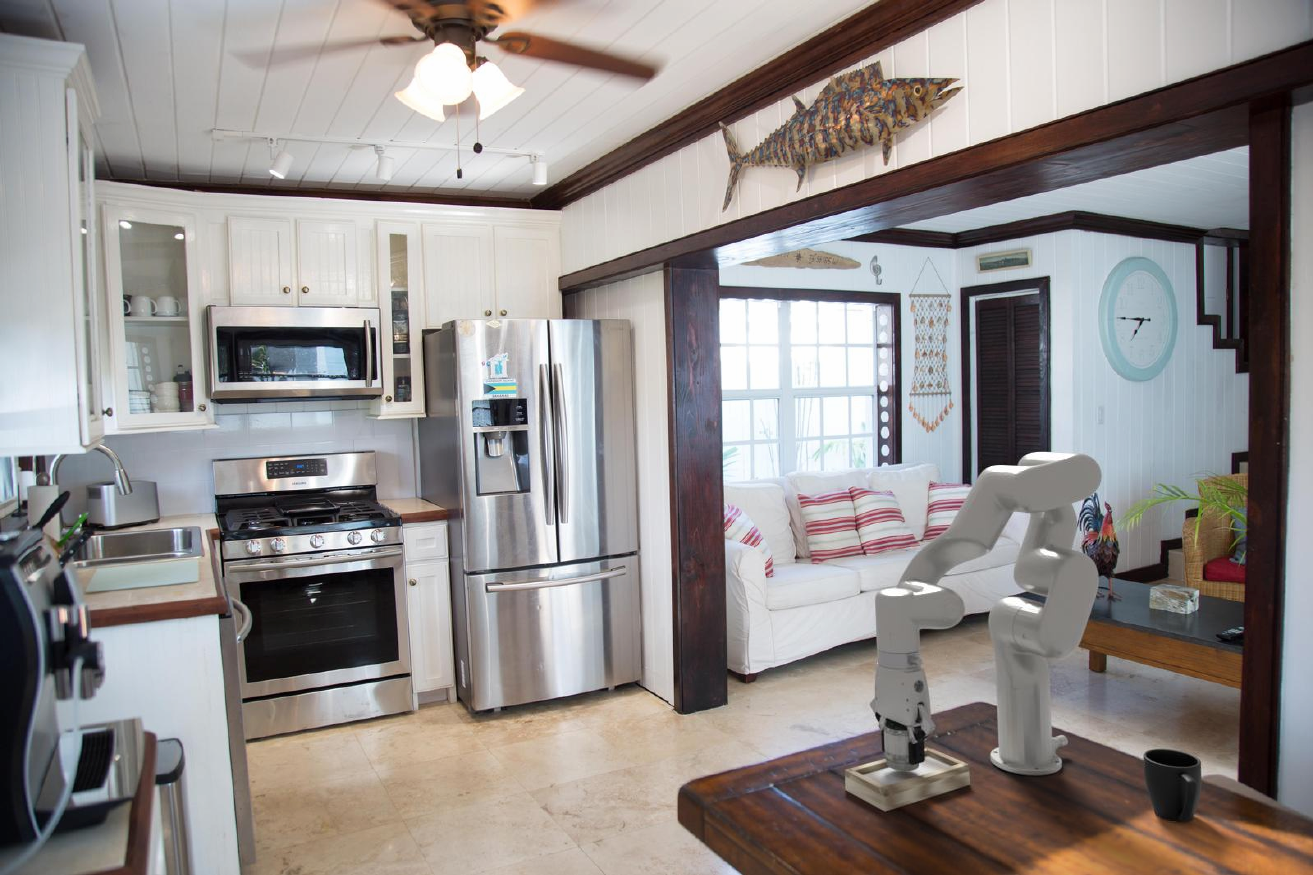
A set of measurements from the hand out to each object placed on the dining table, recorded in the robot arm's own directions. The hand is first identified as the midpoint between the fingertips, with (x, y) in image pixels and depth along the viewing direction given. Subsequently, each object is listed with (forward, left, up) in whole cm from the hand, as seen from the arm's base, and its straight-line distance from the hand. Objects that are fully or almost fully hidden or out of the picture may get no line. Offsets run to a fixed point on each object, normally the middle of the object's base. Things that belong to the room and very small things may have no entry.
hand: (903, 755), depth 160 cm
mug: (-28, +33, -6) cm, 44 cm away
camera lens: (0, 0, -2) cm, 2 cm away
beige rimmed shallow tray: (-1, 0, -6) cm, 6 cm away
